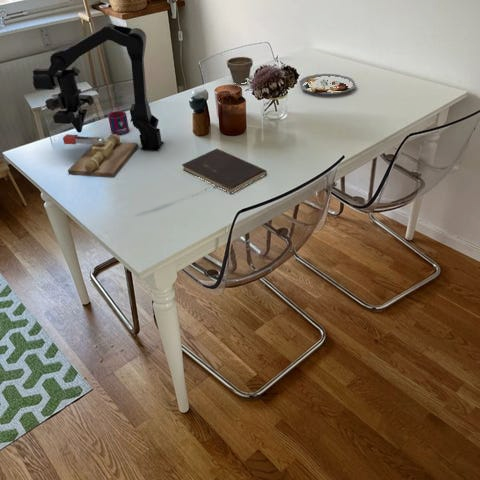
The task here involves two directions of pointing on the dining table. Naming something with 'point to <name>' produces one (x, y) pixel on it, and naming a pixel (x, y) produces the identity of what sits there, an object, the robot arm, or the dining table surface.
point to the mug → (118, 122)
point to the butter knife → (196, 193)
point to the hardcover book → (223, 170)
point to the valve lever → (82, 140)
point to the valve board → (105, 164)
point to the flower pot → (240, 68)
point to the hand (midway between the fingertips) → (79, 132)
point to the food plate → (318, 90)
